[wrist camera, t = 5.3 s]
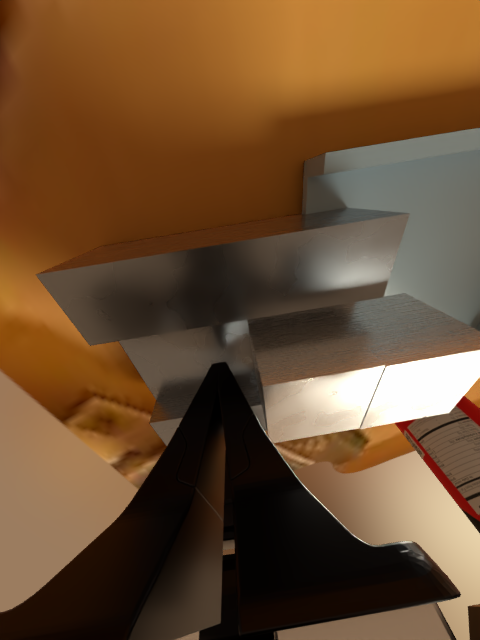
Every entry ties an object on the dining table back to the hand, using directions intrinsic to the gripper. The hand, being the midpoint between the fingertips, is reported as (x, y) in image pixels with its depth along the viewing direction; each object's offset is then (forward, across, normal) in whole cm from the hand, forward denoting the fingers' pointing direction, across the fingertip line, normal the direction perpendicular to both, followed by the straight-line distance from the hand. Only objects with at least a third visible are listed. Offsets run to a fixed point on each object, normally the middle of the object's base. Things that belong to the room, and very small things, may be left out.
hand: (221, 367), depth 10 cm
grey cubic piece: (+1, -4, 0) cm, 4 cm away
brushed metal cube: (+1, -8, 0) cm, 8 cm away
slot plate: (+4, -1, 0) cm, 4 cm away
